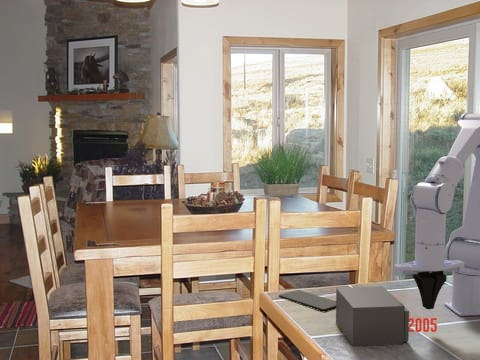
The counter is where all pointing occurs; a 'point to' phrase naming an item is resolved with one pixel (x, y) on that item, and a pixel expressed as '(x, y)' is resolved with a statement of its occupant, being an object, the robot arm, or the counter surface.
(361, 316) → the dark grey cuboid box
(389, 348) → the counter surface
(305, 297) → the smartphone
